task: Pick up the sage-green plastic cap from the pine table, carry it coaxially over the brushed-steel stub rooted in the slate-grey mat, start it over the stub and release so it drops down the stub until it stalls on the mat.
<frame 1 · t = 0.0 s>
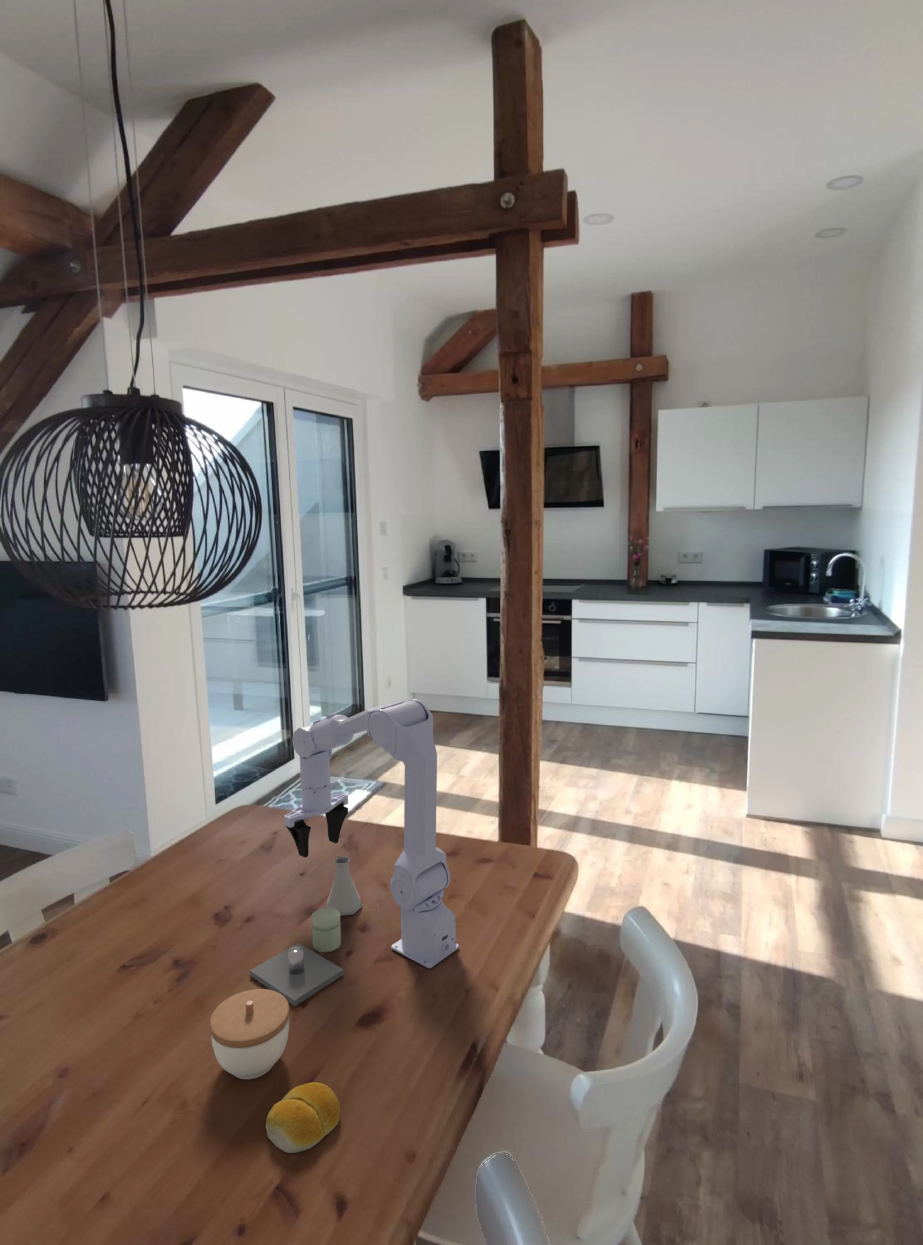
hand: (318, 848, 145), 10 cm above the table, fingers open, 7 cm apart
cap: (327, 943, 130), on the table
bread roll: (303, 1127, 92), on the table
stub: (296, 960, 121), on the mat, point 3 cm above the table
lidded jar: (253, 1064, 102), on the table
flask: (343, 908, 142), on the table
mat: (296, 975, 121), on the table
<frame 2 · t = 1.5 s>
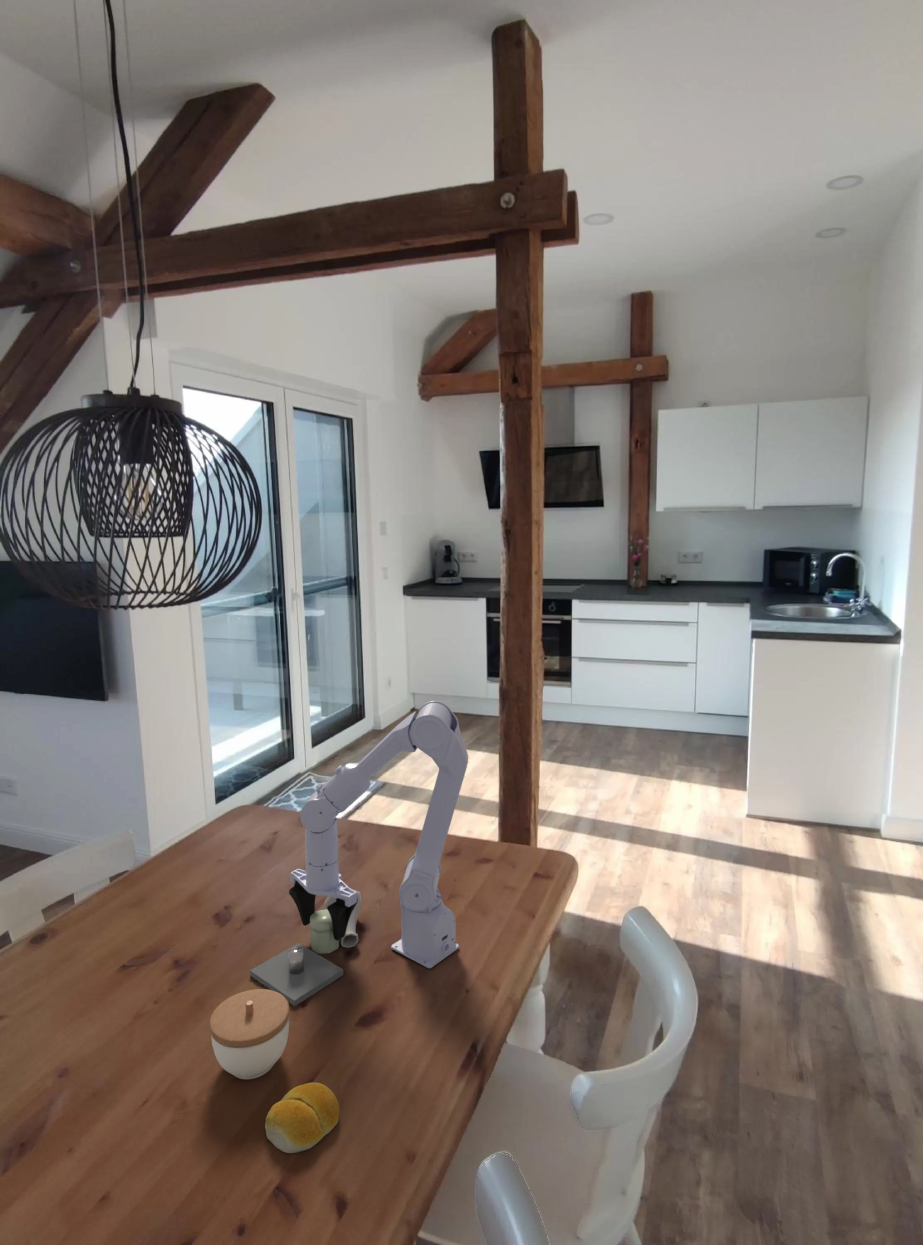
hand: (323, 930, 129), 3 cm above the table, fingers open, 7 cm apart
flask: (342, 901, 137), point 4 cm above the table, touching gripper
everything else where it was.
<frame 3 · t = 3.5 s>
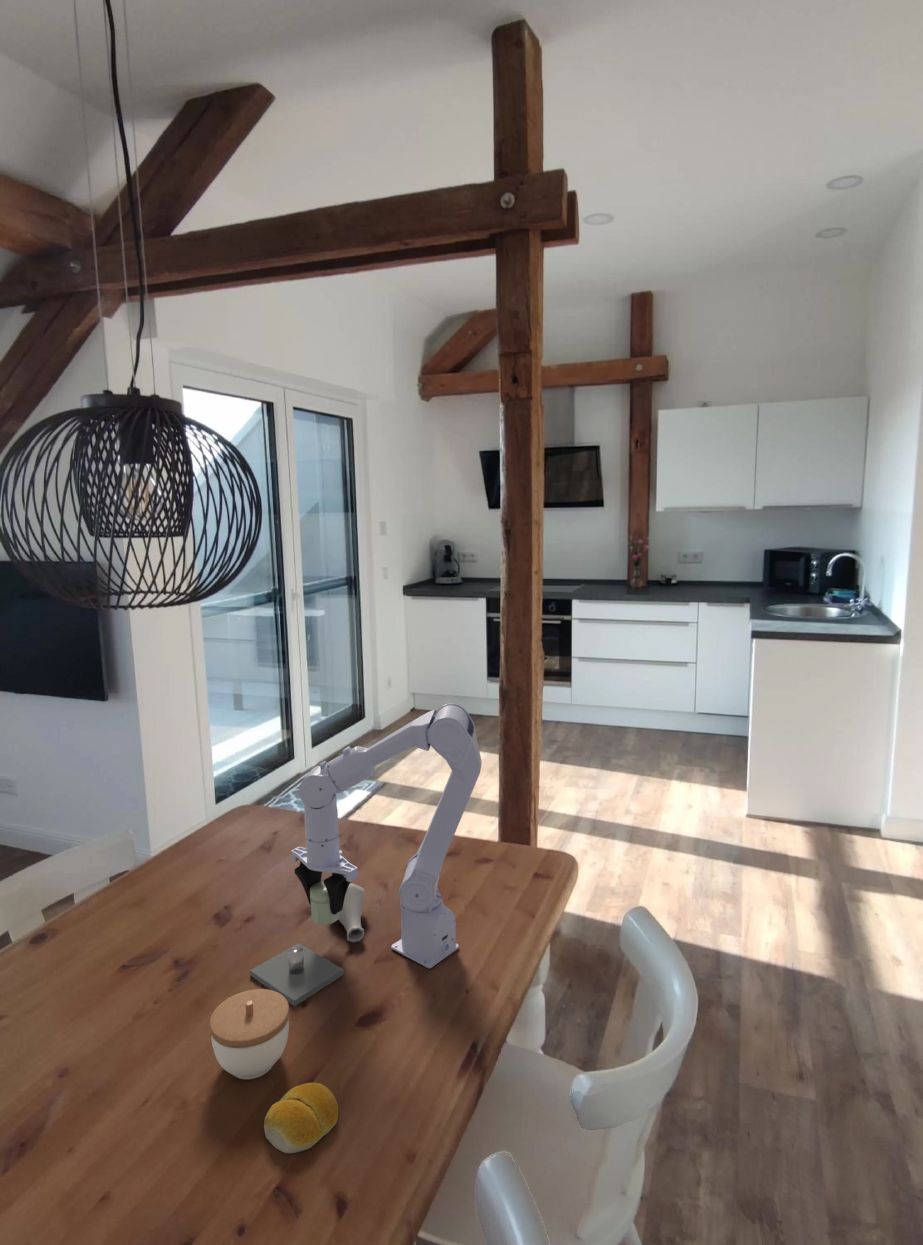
hand: (325, 907, 129), 7 cm above the table, fingers closed on cap, 5 cm apart
cap: (325, 916, 129), point 5 cm above the table, touching gripper
flask: (345, 897, 139), point 4 cm above the table
everything else where it was.
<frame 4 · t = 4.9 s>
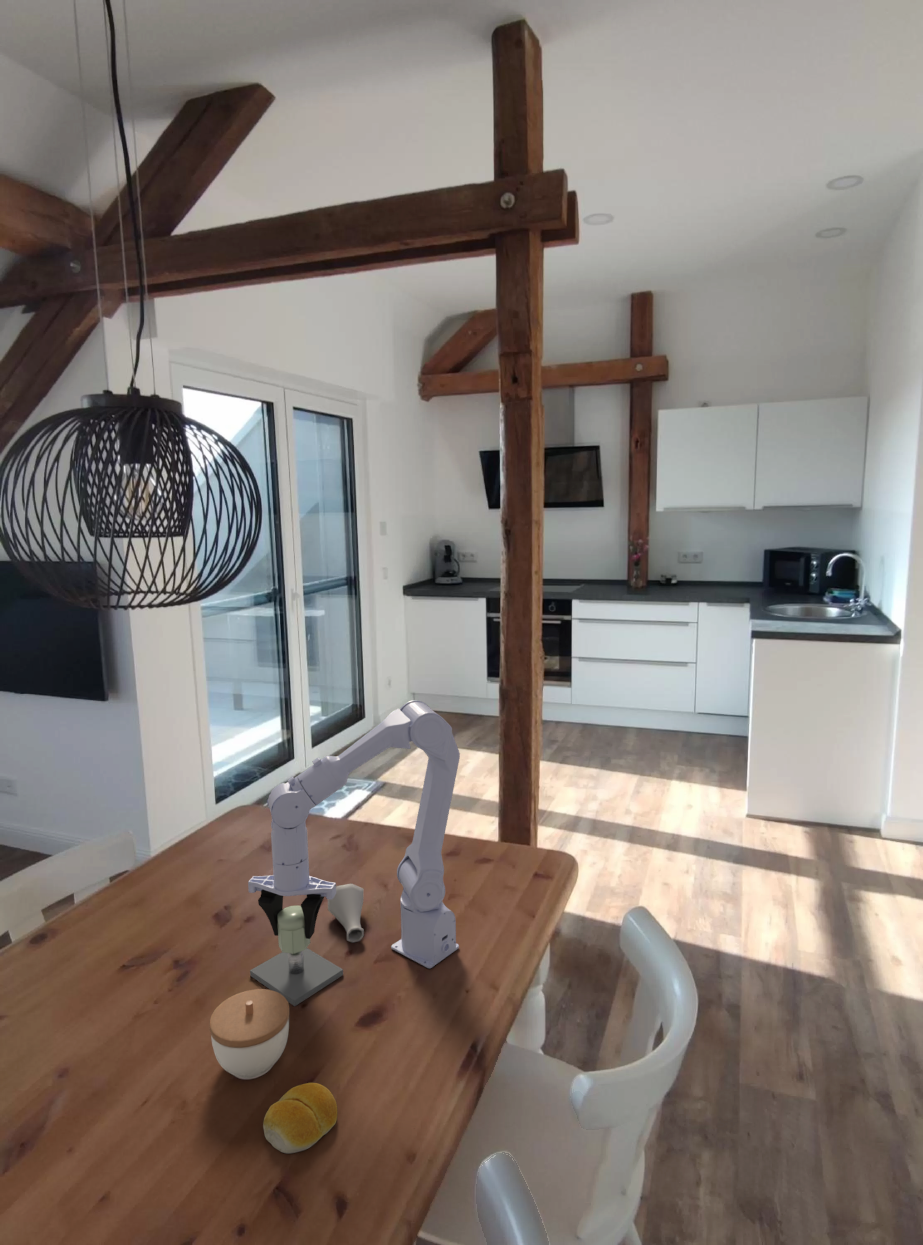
hand: (294, 933, 120), 8 cm above the table, fingers closed on cap, 5 cm apart
cap: (294, 944, 120), point 6 cm above the table, touching gripper
everything else where it was.
when the fingers open (4 cm above the table, at t = 6.5 s): cap drops 1 cm, resting on mat.
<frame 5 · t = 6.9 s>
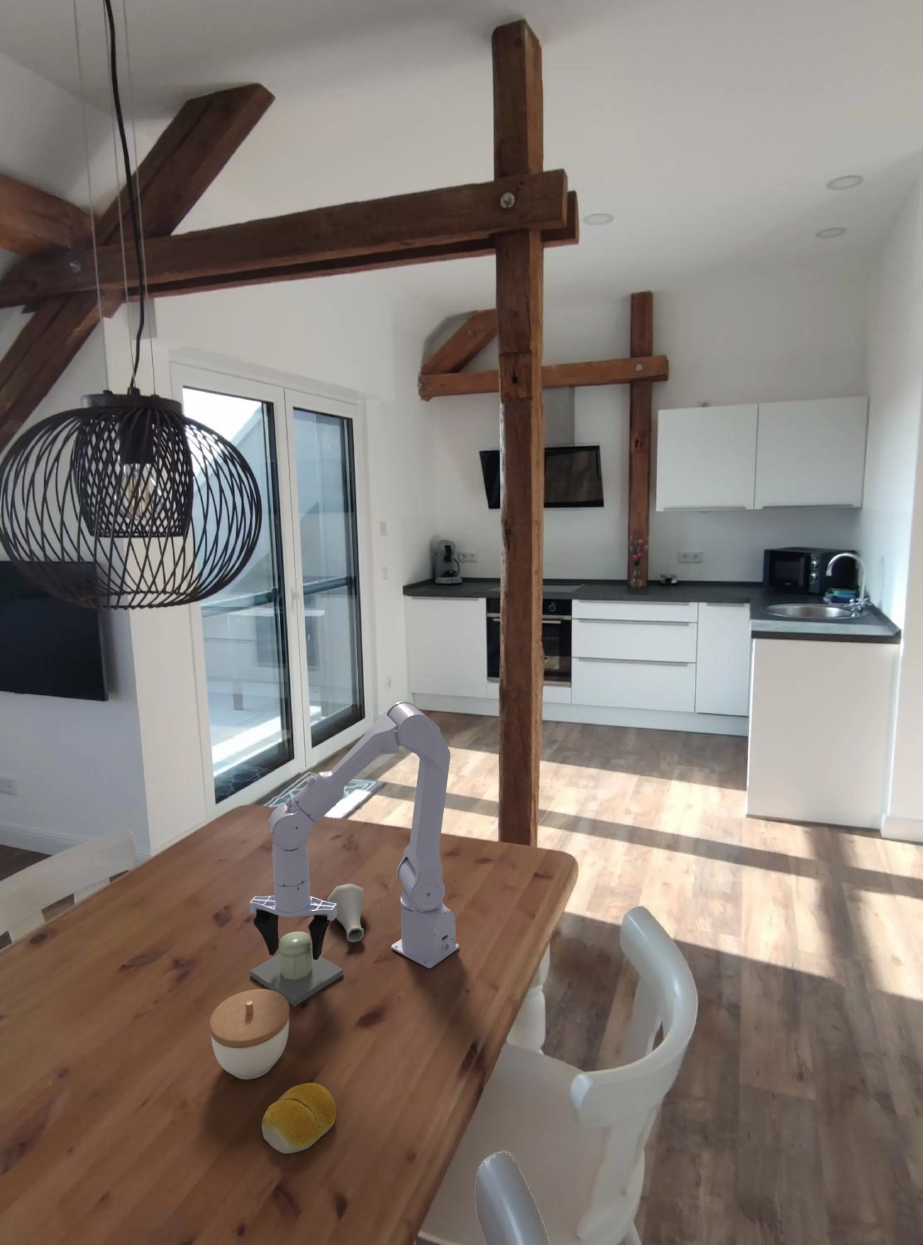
hand: (295, 954, 121), 4 cm above the table, fingers open, 7 cm apart
cap: (296, 970, 121), point 1 cm above the table, touching mat
everything else where it was.
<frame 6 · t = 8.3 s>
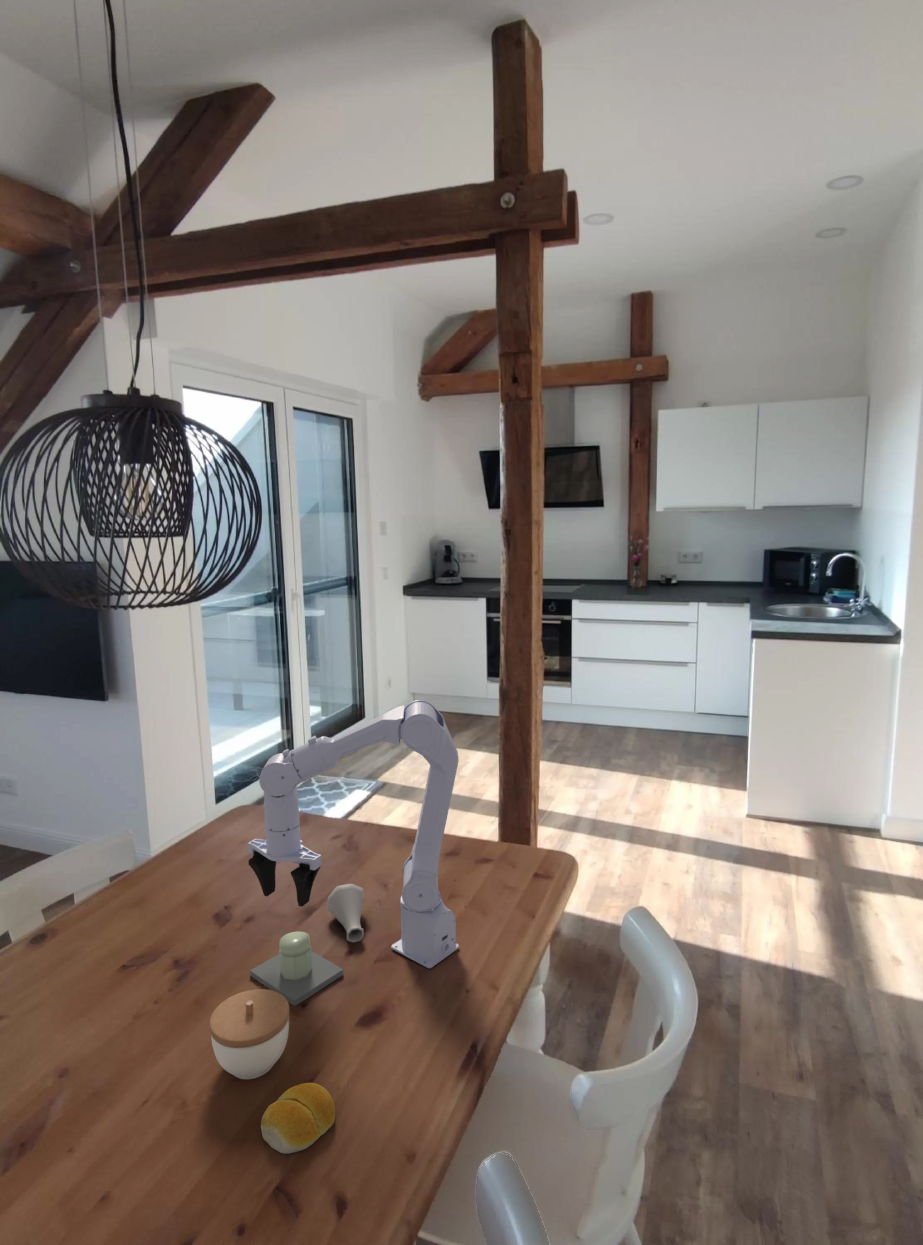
hand: (286, 898, 126), 10 cm above the table, fingers open, 7 cm apart
nothing on the table moved.
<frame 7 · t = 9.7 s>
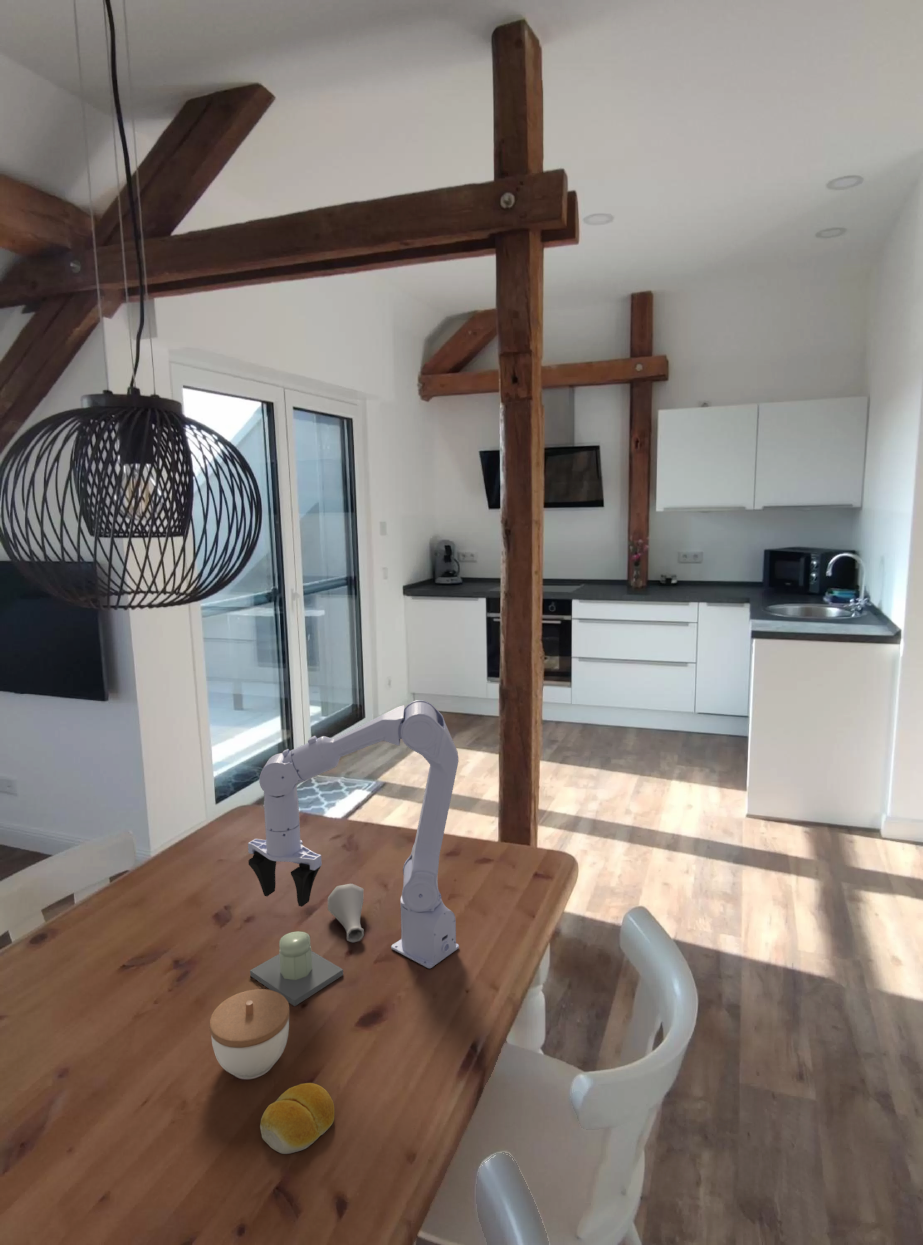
hand: (286, 898, 126), 10 cm above the table, fingers open, 7 cm apart
nothing on the table moved.
at the end: cap 0.1 cm off-centre on the stub, point 1.0 cm above the stub's base; cap tilted 0°; the gripper is holding nothing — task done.
